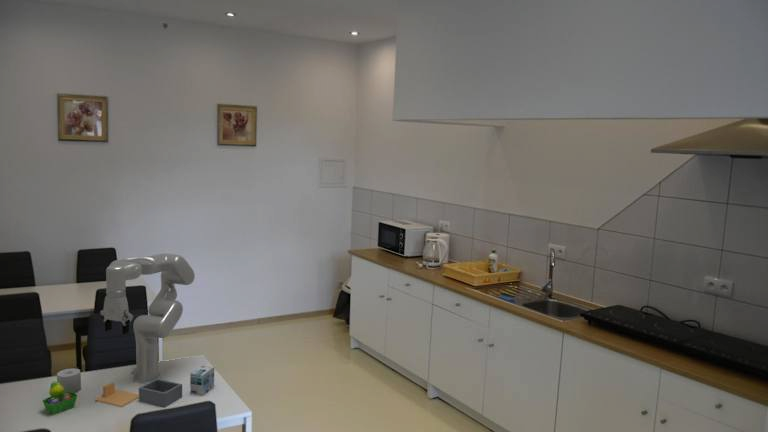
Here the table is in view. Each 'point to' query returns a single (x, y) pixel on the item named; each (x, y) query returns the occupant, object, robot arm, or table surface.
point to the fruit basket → (59, 399)
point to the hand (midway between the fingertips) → (117, 331)
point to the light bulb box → (202, 380)
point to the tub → (157, 397)
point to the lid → (116, 396)
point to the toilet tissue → (70, 380)
